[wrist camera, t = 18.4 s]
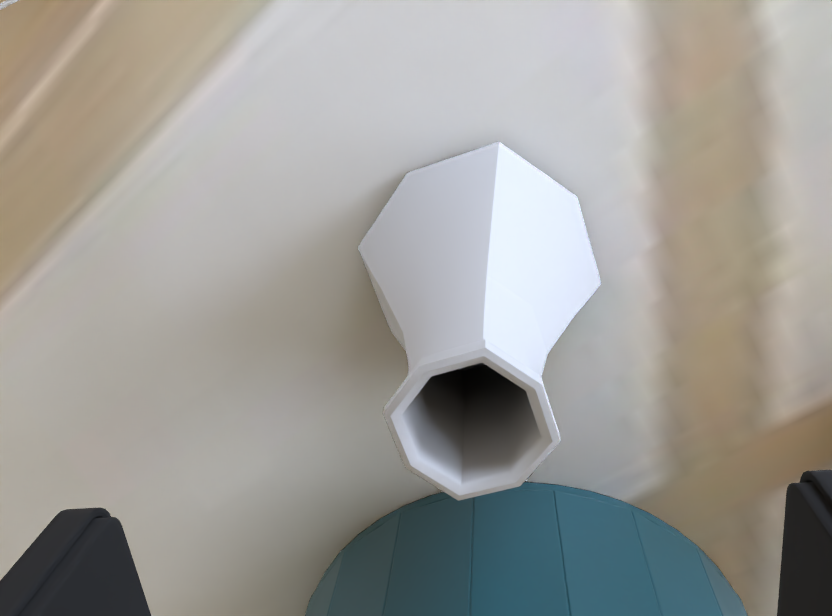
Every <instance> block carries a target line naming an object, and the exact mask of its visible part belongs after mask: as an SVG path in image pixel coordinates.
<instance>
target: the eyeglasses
mask: <svg viewBox="0 0 832 616" xmlns="http://www.w3.org/2000/svg"><path fill="white" fill-rule="evenodd" d="M17 1H19V0H6V1H4V2H2V3H1V4H0V10H1V9H3V8H5V7H7V6H9V5H11V4H13V3H15V2H17Z"/></svg>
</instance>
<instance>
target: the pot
mask: <svg viewBox="0 0 832 616" xmlns="http://www.w3.org/2000/svg"><path fill="white" fill-rule="evenodd" d="M305 616H748V615H747V613H746V610H745V608H744V606H743V603H742V601H741V599H740V598H739V596H738V595H737V594H736V593H735V591H734V590H733V588H732V587H731V585H730V584H729V582H728V581H727V580H726V578H725V577H724V575H723V574H722V572H721V571H720V569H719V568H718V567H717V566H716V565H715V564H714V563H713V562H712V561H711V559H710V558H709V557H708V556H707V555H706V554H705V553H704V552H703V551H702V550H701V549H700V548H699V547H698V546H697V545H695V544H694V543H693V542H692V541H690V540H689V539H688V538H687V537H685V536H684V535H683V534H682V533H680V532H679V531H678V530H676V529H675V528H673V527H672V526H670V525H668V524H667V523H665V522H663V521H662V520H660V519H658V518H657V517H655V516H653V515H652V514H650V513H648V512H646V511H643V510H641V509H639V508H637V507H634V506H632V505H630V504H628V503H625V502H623V501H621V500H617V499H614V498H611V497H608V496H605V495H601V494H598V493H595V492H592V491H587V490H582V489H577V488H572V487H567V486H561V485H553V484H541V483H529V482H523V484H522V485H521V486H519V487H515V488H511V489H506V490H502V491H498V492H493V493H489V494H485V495H481V496H476V497H472V498H468V499H463V500H459V501H458V500H456V499H455V498H453V497H452V496H450V495H448V494H447V493H445V492H442V493H438V494H434V495H431V496H429V497H426V498H423V499H421V500H418V501H416V502H413V503H410V504H408V505H405V506H403V507H401V508H399V509H398V510H396V511H394V512H392V513H390V514H388V515H386V516H385V517H383V518H381V519H379V520H378V521H376V522H375V523H374V524H372V525H371V526H370V527H368V528H367V529H365V530H364V531H363V532H361V533H360V534H359V535H357V536H356V537H355V538H354V539H353V540H352V541H351V542H350V543H349V544H348V545H347V546H346V547H345V548H344V549H343V550H342V551H341V552H340V553H339V554H338V556H337V557H336V558H335V560H334V561H333V562H332V563H331V565H330V566H329V567H328V569H327V570H326V571H325V573H324V575H323V577H322V579H321V581H320V583H319V585H318V586H317V588H316V590H315V592H314V593H313V595H312V596H311V599H310V601H309V604H308V607H307V611H306V614H305Z"/></svg>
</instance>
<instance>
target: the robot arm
mask: <svg viewBox="0 0 832 616" xmlns="http://www.w3.org/2000/svg"><path fill="white" fill-rule="evenodd" d="M0 616H151V614H150V610H149V607H148V604H147V601H146V598H145V595H144V592H143V589H142V586H141V583H140V580H139V577H138V574H137V571H136V567H135V564H134V561H133V558H132V555H131V552H130V549H129V546H128V543H127V540H126V537H125V534H124V531H123V528H122V525H121V523H120V521H119V520H118V519H117V518H115V517H111V516H110V513H109V512H108V511H107V510H106V509H103V508H85V509H67V510H63V511H61V512H60V513H59V514H57V515H56V516H55V517H54V519H53V520H52V521H51V522H50V523H49V524H48V526H47V527H46V528H45V529H44V530H43V531H42V533H41V534H40V535H39V536H38V537H37V539H36V540H35V541H34V542H33V543H32V544H31V546H30V547H29V548H28V549H27V550H26V551H25V553H24V554H23V555H22V556H21V557H20V558H19V560H18V561H17V562H16V563H15V564H14V565H13V567H12V568H11V569H10V570H9V571H8V573H7V574H6V575H5V576H4V577H3V578H2V580H1V581H0ZM777 616H832V470H818V471H806V472H804V473H803V474H802V476H801V479H800V483H791V484H789V486H788V488H787V494H786V507H785V520H784V533H783V547H782V560H781V573H780V586H779V599H778V612H777Z"/></svg>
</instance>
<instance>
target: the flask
mask: <svg viewBox="0 0 832 616" xmlns="http://www.w3.org/2000/svg"><path fill="white" fill-rule="evenodd" d="M358 249H359V252H360V254H361V257H362V260H363V262H364V265H365V267H366V270H367V272H368V275H369V277H370V280H371V282H372V285H373V287H374V290H375V293H376V295H377V298H378V300H379V303H380V305H381V308H382V310H383V313H384V315H385V318H386V320H387V323H388V326H389V328H390V329H391V331H392V333H393V334H394V336H395V337H396V339H397V340H398V341H399V343H400V344H401V345H402V347H403V348H404V349H405V351H406V353H407V359H408V365H409V370H408V375H407V378H406V379H405V381H404V382H403V383H402V385H401V386H400V387H399V388H398V390H397V391H396V392H395V394H394V395H393V396H392V398H391V399H390V400H389V402H388V403H387V404H386V406H385V407H384V409H383V416H384V418H385V420H386V423H387V425H388V428H389V430H390V432H391V435H392V437H393V440H394V442H395V444H396V447H397V449H398V452H399V454H400V456H401V459H402V461H403V464H404V466H405V468H406V469H408V470H409V471H411V472H413V473H414V474H416V475H417V476H419V477H421V478H422V479H424V480H426V481H427V482H429V483H430V484H432V485H434V486H435V487H437V488H439V489H440V490H442V491H443V492H445V493H447V494H448V495H450V496H452V497H453V498H455V499H456V500H458V501H459V500H463V499H468V498H472V497H476V496H481V495H485V494H489V493H493V492H498V491H502V490H506V489H511V488H515V487H519V486H521V485H522V484H523V482H524V481H525V480H526V479H527V478H528V477H529V476H530V475H531V474H532V473H533V471H534V470H535V469H536V468H537V467H538V466H539V465H540V464H541V463H542V461H543V460H544V459H545V458H546V457H547V456H548V455H549V454H550V453H551V452H552V450H553V449H554V448H555V447H556V446H557V445H558V444H559V443H560V434H559V430H558V427H557V424H556V421H555V418H554V415H553V412H552V409H551V406H550V403H549V400H548V397H547V393H546V390H545V387H544V384H543V381H542V378H541V377H542V373H543V369H544V366H545V362H546V358H547V355H548V353H549V351H550V350H551V349H552V347H553V346H554V344H555V343H556V341H557V340H558V339H559V337H560V336H561V334H562V333H563V332H564V330H565V329H566V327H567V326H568V324H569V323H570V322H571V320H572V319H573V318H574V316H575V315H576V314H577V313H578V312H579V310H580V309H581V308H582V307H583V306H584V304H585V303H586V302H587V301H588V300H589V298H590V297H591V296H592V295H593V294H594V293H595V291H596V290H597V288H598V287H599V286H600V284H601V280H600V276H599V273H598V269H597V265H596V262H595V258H594V255H593V251H592V247H591V244H590V240H589V237H588V233H587V230H586V226H585V222H584V219H583V215H582V212H581V208H580V205H579V201H578V197H577V196H576V195H574V194H573V193H571V192H570V191H569V190H567V189H566V188H564V187H563V186H561V185H560V184H559V183H557V182H556V181H554V180H553V179H551V178H550V177H549V176H547V175H546V174H544V173H543V172H542V171H540V170H539V169H537V168H536V167H534V166H533V165H532V164H530V163H529V162H527V161H526V160H524V159H523V158H522V157H520V156H519V155H517V154H516V153H515V152H513V151H512V150H510V149H509V148H507V147H506V146H505V145H503V144H502V143H500V142H496V143H493V144H490V145H487V146H484V147H481V148H478V149H475V150H472V151H469V152H466V153H464V154H461V155H458V156H455V157H452V158H449V159H446V160H443V161H440V162H437V163H434V164H431V165H428V166H425V167H422V168H419V169H416V170H413V171H410V172H407V174H406V175H405V177H404V178H403V180H402V181H401V183H400V184H399V186H398V187H397V189H396V190H395V192H394V193H393V195H392V196H391V198H390V199H389V201H388V202H387V204H386V205H385V207H384V208H383V210H382V211H381V213H380V214H379V216H378V217H377V219H376V220H375V222H374V223H373V225H372V226H371V228H370V229H369V231H368V232H367V234H366V235H365V237H364V238H363V240H362V241H361V243H360V244H359V246H358Z"/></svg>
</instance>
